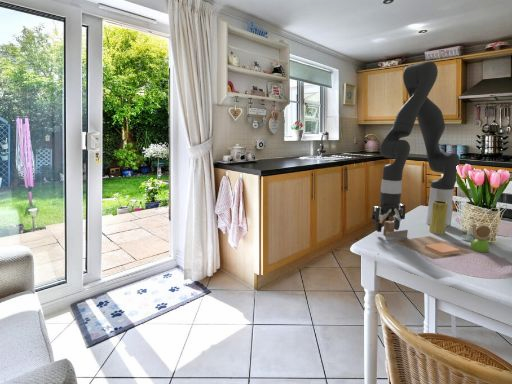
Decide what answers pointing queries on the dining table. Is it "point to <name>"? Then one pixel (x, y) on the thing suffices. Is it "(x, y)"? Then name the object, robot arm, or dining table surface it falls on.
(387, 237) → the wooden stamp block
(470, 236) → the pacifier
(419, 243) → the board
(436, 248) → the tile
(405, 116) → the robot arm
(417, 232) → the dining table surface
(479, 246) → the snail figurine
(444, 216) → the vase
